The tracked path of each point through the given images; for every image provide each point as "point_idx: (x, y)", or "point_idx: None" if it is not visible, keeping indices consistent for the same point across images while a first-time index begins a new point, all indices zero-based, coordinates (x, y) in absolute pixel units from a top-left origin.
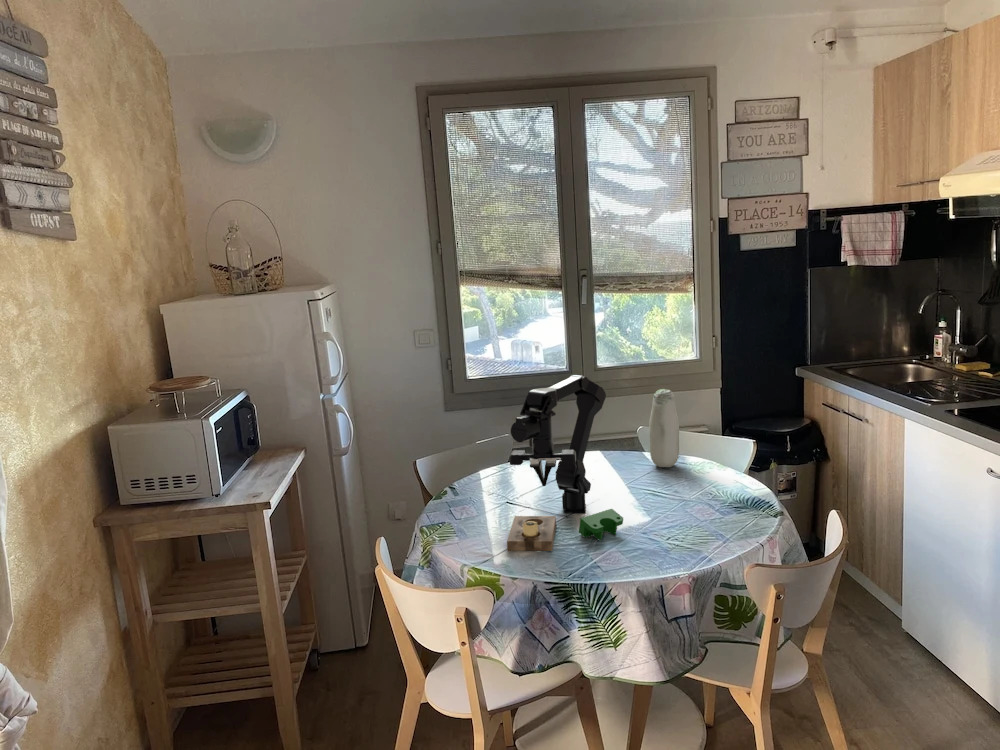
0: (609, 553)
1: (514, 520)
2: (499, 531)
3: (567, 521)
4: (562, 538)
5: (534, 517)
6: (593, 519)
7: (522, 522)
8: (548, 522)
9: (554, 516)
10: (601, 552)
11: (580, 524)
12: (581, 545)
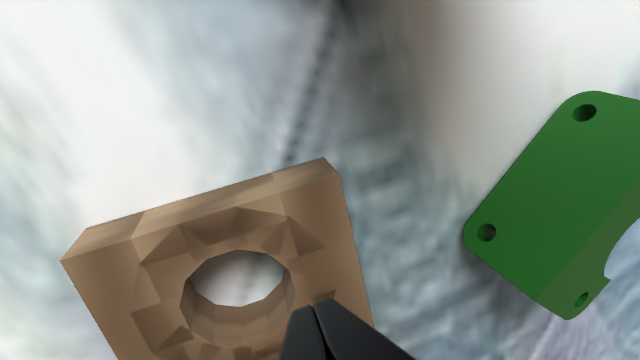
0: (564, 321)
1: (105, 322)
2: (40, 323)
3: (366, 78)
4: (389, 277)
5: (213, 238)
6: (585, 266)
7: (173, 326)
8: (325, 273)
9: (333, 183)
10: (540, 325)
11: (505, 277)
12: (472, 304)
